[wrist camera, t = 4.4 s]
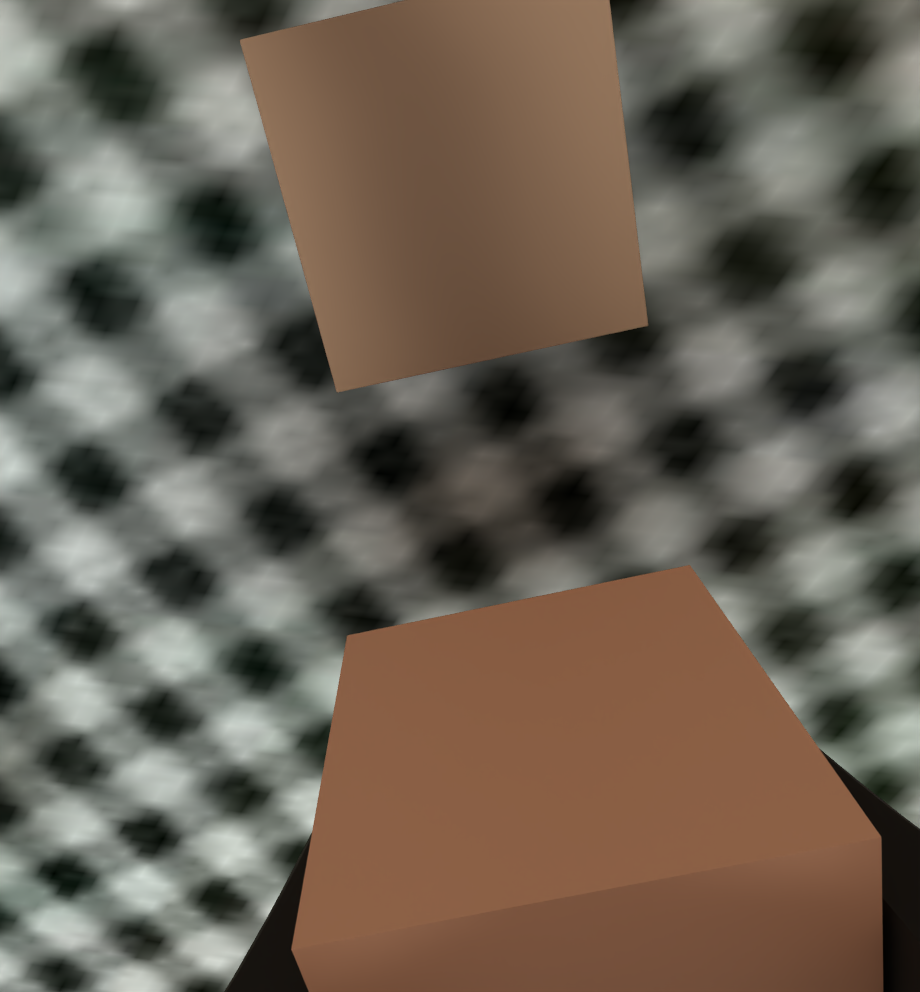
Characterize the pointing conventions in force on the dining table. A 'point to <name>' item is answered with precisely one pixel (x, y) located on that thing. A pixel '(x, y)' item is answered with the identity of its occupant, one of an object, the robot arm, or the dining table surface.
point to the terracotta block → (581, 810)
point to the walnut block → (453, 180)
